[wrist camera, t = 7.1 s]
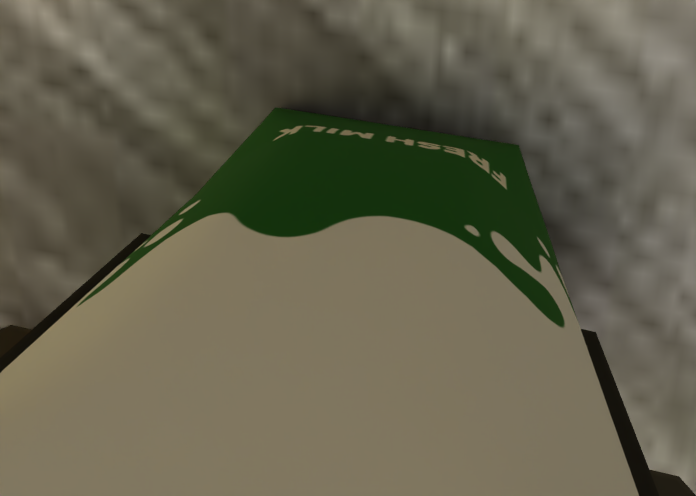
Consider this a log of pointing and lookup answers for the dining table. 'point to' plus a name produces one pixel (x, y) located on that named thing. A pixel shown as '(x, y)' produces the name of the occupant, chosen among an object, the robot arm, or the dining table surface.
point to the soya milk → (324, 337)
